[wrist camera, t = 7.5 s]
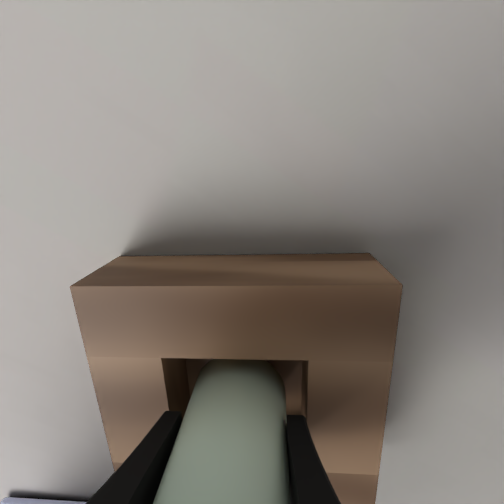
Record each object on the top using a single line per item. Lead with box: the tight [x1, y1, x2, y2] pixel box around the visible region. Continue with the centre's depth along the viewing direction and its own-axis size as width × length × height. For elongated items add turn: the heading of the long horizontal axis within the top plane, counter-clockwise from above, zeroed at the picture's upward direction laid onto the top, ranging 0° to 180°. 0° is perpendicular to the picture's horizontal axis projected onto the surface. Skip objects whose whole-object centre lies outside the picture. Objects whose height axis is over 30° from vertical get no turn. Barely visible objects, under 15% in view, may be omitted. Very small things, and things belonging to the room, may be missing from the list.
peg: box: [153, 359, 291, 504], centre depth 10 cm, size 4×4×7 cm
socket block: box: [70, 253, 403, 504], centre depth 13 cm, size 12×12×4 cm
